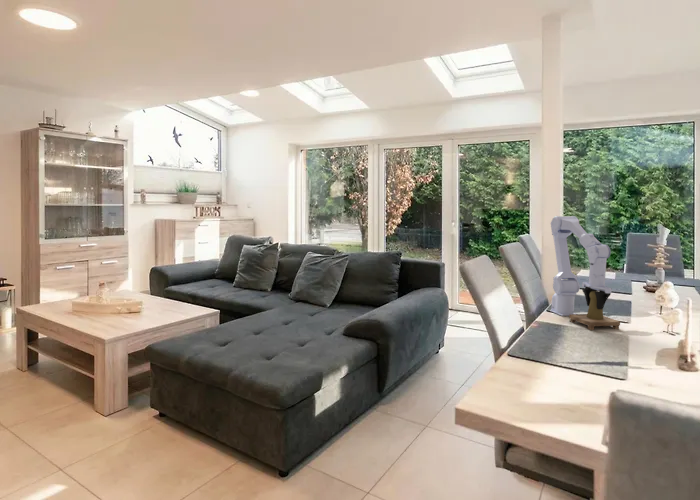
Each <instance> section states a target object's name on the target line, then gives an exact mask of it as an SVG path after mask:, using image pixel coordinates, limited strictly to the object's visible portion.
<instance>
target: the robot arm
mask: <svg viewBox="0 0 700 500" xmlns="http://www.w3.org/2000/svg"><path fill="white" fill-rule="evenodd" d="M550 228H551V235H552V236H553V243H554V251H555V260H556V266H557V272H558V273H556V274H555V276H554V277H553V283H552V289H553V291H554V294H552V297H551V309H549V311H550V312H551V313H554V314H556V315H559V316H561V317H563V316H565V317H566V316H567V317H568V316H569V315H570V314H577V313H575V311H574V310H575V297H576V295H577V293H578V292H580V288H581V287H580V286H582V287H583V288H581V290H582V293H583V294H584V298H585V302H586V306H587V307H589V304H590V300H591V298H590V296H589V294H590V292H592V291H600V292H595V295H596V299H597V309H603V310H604V307H605V304H606V303H607V300H608V298H609V297H610V296H611V294H612V291H613V290H612V288H611V287H609V286H606V271H607V270H606V269H607V259H609V258H610V256H611V253H612V252H611V248H610V247H609V245H608V244H603V243H601V242H600V241H599V240H598V239H597V238H596V237H595V235H594V233H590V232H588V233H587V232H586V230H585V229H584V227H582V226H581V224H580V220H579V218H577V216H575V215H571V216H569V215H566V216H565V215H564V216H563V215H562V216H561V215H555V216H553V218H552V220H551V221H550ZM572 234H573V235H574V236H576V237H577V238H578V241H579V244H580V245H581V246H583V248H584V249H585V250H586V253H587V254H586V255H587V258H588V263H589V273H588V281H582V284H581V285H580V282H579V280H578V277H577V275H576V274H575V273H573V272H572V268H571V262H570V254H569V246H568V240H567V238H568V237H569V236H571V235H572Z"/></svg>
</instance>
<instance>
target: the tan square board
mask: <svg viewBox="0 0 700 500" xmlns="http://www.w3.org/2000/svg"><path fill="white" fill-rule="evenodd" d="M569 322H570V323H573V324H575V323H576V322H578V323H581V324H583V325H586V326H587V330H589V331H594V330H595V327H609V326H611V327H612V329H614V330H619V329H620V326H621V321H620V320H617V319H613V318H611V317H608V316H605V315H603V319H602V320H595V319H590V318H587V313H581V314H580V313H576V314H570V315H569Z"/></svg>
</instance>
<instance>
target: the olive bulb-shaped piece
mask: <svg viewBox="0 0 700 500" xmlns="http://www.w3.org/2000/svg"><path fill="white" fill-rule="evenodd" d="M595 292H600V291H598V290H597V291H592V292H590V294H589V296H590V298H591V300H590V304H589V306H588V309H587V313H586V314H587V318H590V319H595V320H602V319H603V316H604V312H603V311H604V308H603V309H597V299H596V295H595Z"/></svg>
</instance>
